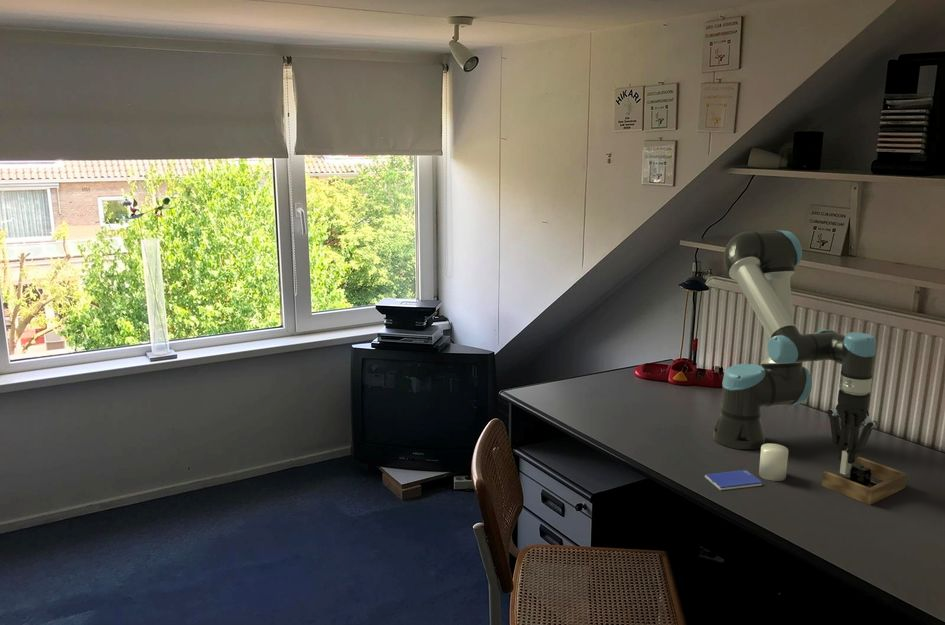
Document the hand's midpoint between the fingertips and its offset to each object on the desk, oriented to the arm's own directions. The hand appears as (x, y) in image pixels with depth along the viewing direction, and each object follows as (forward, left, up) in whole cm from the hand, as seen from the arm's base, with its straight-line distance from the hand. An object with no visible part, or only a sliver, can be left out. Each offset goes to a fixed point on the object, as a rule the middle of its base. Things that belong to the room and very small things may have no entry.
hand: (845, 472), depth 205 cm
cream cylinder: (-13, -14, -2) cm, 19 cm away
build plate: (+3, +3, -3) cm, 5 cm away
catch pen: (+5, 0, -2) cm, 5 cm away
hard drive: (-17, -26, -3) cm, 31 cm away
